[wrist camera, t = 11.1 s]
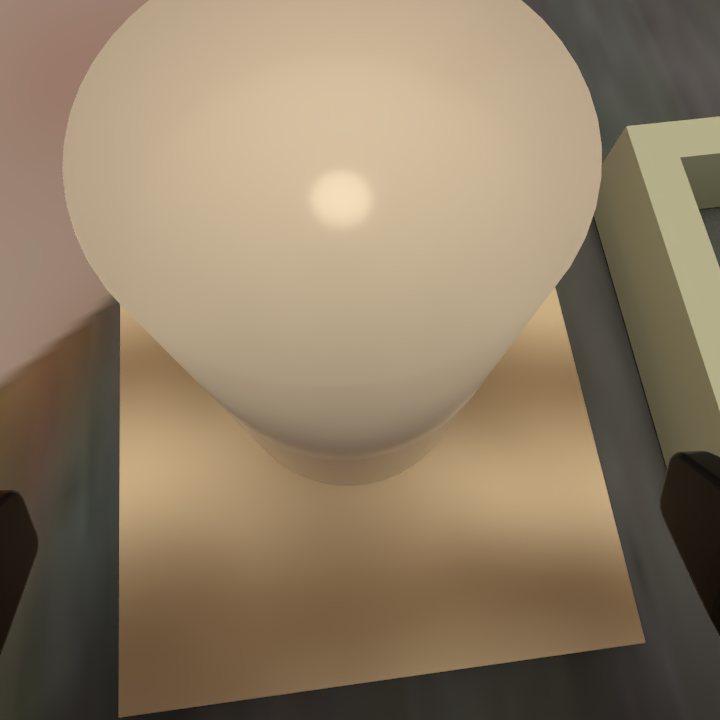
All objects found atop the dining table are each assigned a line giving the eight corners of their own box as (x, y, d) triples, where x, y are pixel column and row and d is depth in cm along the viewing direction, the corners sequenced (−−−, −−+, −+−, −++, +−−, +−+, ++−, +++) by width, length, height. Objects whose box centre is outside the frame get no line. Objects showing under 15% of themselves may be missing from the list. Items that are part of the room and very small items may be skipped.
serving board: (634, 639, 15) (645, 642, 14) (128, 710, 14) (118, 717, 14) (508, 131, 20) (512, 119, 19) (128, 171, 19) (121, 159, 19)
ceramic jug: (472, 479, 15) (653, 371, 6) (235, 492, 15) (30, 404, 6) (443, 220, 18) (537, -149, 8) (238, 230, 18) (99, -133, 8)
